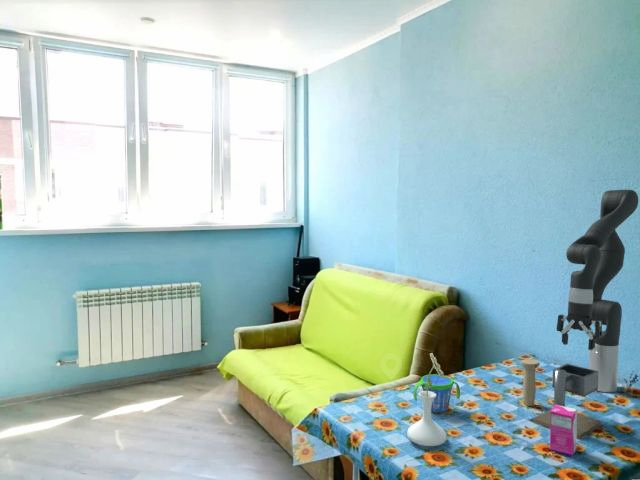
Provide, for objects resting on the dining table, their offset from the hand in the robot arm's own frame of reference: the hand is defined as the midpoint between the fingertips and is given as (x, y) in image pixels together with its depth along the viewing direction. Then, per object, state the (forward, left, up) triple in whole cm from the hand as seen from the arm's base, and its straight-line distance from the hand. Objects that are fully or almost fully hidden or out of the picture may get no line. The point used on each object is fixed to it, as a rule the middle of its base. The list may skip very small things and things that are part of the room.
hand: (577, 347), depth 166 cm
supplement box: (+40, +14, -19) cm, 47 cm away
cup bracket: (+22, +7, -19) cm, 29 cm away
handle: (+18, -8, -19) cm, 27 cm away
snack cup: (+46, -25, -19) cm, 56 cm away
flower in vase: (+65, -13, -19) cm, 69 cm away
